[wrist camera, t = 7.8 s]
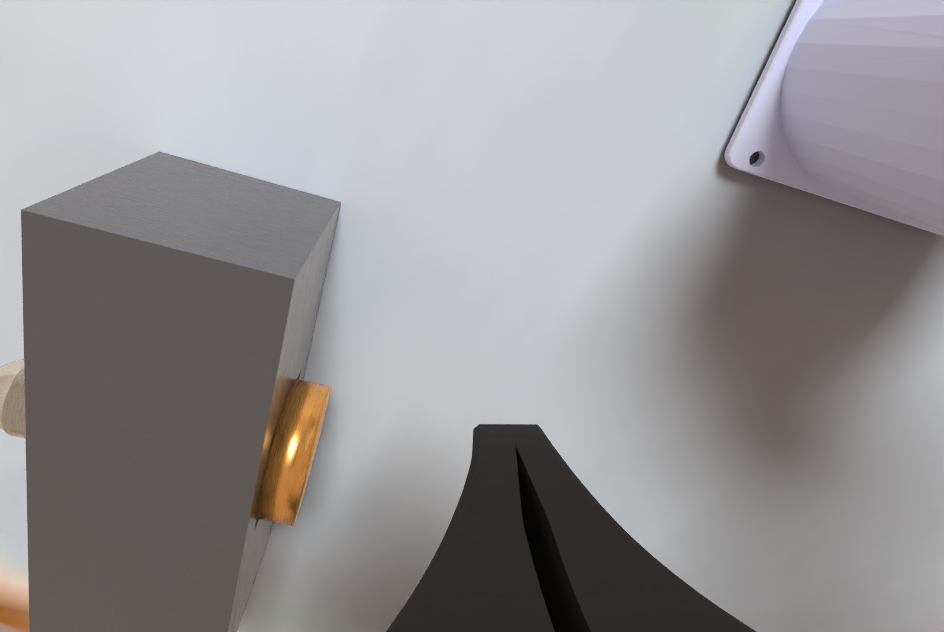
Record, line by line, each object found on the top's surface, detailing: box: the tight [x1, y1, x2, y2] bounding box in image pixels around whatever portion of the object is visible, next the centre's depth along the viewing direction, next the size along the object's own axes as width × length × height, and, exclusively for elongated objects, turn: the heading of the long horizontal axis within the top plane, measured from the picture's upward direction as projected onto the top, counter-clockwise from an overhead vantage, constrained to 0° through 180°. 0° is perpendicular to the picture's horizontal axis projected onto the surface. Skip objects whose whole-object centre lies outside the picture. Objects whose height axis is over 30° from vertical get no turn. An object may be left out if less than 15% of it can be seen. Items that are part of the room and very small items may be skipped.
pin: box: [0, 359, 331, 526], centre depth 20 cm, size 10×5×5 cm, turn 73°
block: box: [21, 152, 341, 632], centre depth 20 cm, size 6×16×7 cm, turn 163°
